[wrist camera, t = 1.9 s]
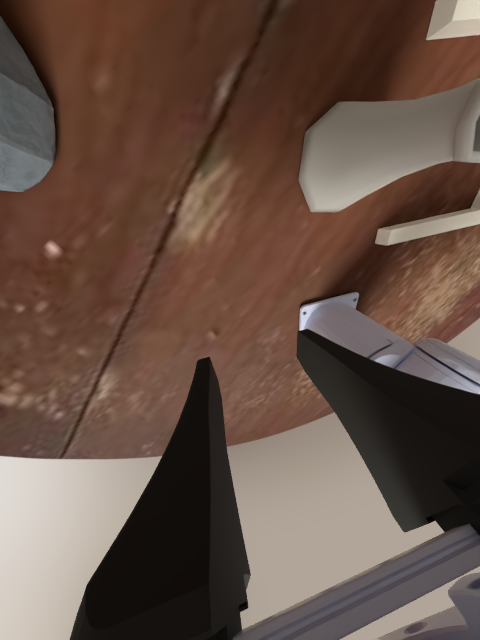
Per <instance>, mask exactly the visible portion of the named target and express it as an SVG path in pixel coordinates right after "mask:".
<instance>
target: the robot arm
mask: <svg viewBox="0 0 480 640" xmlns="http://www.w3.org/2000/svg"><path fill="white" fill-rule="evenodd" d="M358 297H359V293H357V292H352V293H348V294H344V295H341V296H337V297H333V298H329V299H325V300H321V301H317V302H314V303H310V304H306V305H303V306H301V308H300V320H299V331H298V338H297V358H298V360H299V362H300V363H301V365H302V367H303V369H304V370H305V372H306V373H307V375H308V376H309V377H310V379H311V380H312V382H313V383H314V384H315V386H316V387H317V388H318V390H319V391H320V392H321V394H322V395H323V396H324V398H325V399H326V400H327V402H328V403H329V404H330V406H331V407H332V409H333V410H334V412H335V413H336V414H337V416H338V418H339V419H340V421H341V423H342V424H343V426H344V427H345V429H346V431H347V432H348V434H349V436H350V438H351V439H352V441H353V443H354V444H355V446H356V448H357V449H358V451H359V453H360V455H361V456H362V458H363V460H364V462H365V464H366V465H367V467H368V469H369V471H370V473H371V474H372V476H373V478H374V480H375V482H376V484H377V486H378V488H379V489H380V491H381V493H382V495H383V497H384V499H385V501H386V503H387V505H388V507H389V509H390V511H391V513H392V515H393V517H394V518H395V520H396V521H397V522H398V524H399V526H400V527H401V529H402V530H403V531H404V532H408V531H410V530H413V529H416V528H418V527H421V526H423V525H426V524H429V523H431V522H433V521H436V522H437V523H438V524H439V526H440V527H441V528H442V529H443V531H444V532H445V533H443V534H441V535H439V536H437V537H434V538H432V539H430V540H428V541H426V542H424V543H422V544H420V545H418V546H416V547H414V548H412V549H410V550H408V551H405V552H403V553H401V554H399V555H397V556H395V557H393V558H391V559H389V560H387V561H385V562H382V563H381V564H378V565H376V566H375V567H372V568H370V569H368V570H366V571H364V572H362V573H360V574H358V575H356V576H353V577H352V578H349V579H347V580H345V581H343V582H341V583H339V584H337V585H335V586H333V587H331V588H329V589H326V590H324V591H322V592H320V593H318V594H316V595H314V596H312V597H310V598H308V599H306V600H304V601H302V602H299V603H297V604H295V605H294V606H291V607H289V608H287V609H285V610H283V611H281V612H279V613H277V614H275V615H273V616H271V617H269V618H267V619H264V620H262V621H260V622H258V623H256V624H254V625H252V626H250V627H248V628H246V629H243V630H242V627H241V618H240V612H241V611H243V610H245V609H247V608H248V601H247V594H246V588H247V586H248V582H249V579H250V569H249V564H248V559H247V554H246V549H245V544H244V539H243V534H242V529H241V524H240V519H239V513H238V508H237V503H236V498H235V492H234V487H233V482H232V476H231V471H230V465H229V459H228V454H227V447H226V438H225V427H224V417H223V407H222V398H221V393H220V388H219V383H218V379H217V376H216V373H215V371H214V368H213V365H212V362H211V359H210V357H207V358H203V359H200V360H198V361H197V365H196V369H195V374H194V377H193V381H192V385H191V388H190V391H189V394H188V397H187V400H186V403H185V405H184V408H183V411H182V413H181V416H180V419H179V421H178V423H177V426H176V428H175V430H174V433H173V435H172V437H171V439H170V442H169V444H168V446H167V448H166V450H165V452H164V454H163V456H162V458H161V460H160V462H159V464H158V466H157V468H156V470H155V472H154V474H153V476H152V477H151V479H150V481H149V483H148V484H147V486H146V488H145V490H144V492H143V493H142V495H141V497H140V499H139V500H138V502H137V504H136V506H135V507H134V509H133V511H132V513H131V514H130V516H129V518H128V519H127V521H126V523H125V525H124V526H123V528H122V529H121V531H120V533H119V534H118V536H117V538H116V539H115V541H114V542H113V544H112V545H111V547H110V549H109V550H108V552H107V554H106V555H105V557H104V558H103V560H102V562H101V563H100V565H99V566H98V568H97V570H96V571H95V573H94V574H93V576H92V577H91V579H90V581H89V582H88V584H87V586H86V589H85V593H84V596H83V599H82V602H81V605H80V607H79V610H78V613H77V616H76V620H75V623H74V626H73V630H72V634H71V637H70V640H339V639H341V638H343V637H345V636H347V635H349V634H351V633H353V632H354V631H356V630H358V629H360V628H362V627H364V626H366V625H368V624H370V623H371V622H374V621H376V620H378V619H379V618H381V617H383V616H385V615H387V614H389V613H391V612H393V611H395V610H396V609H399V608H400V607H402V606H404V605H406V604H408V603H410V602H412V601H414V600H416V599H418V598H420V597H421V596H423V595H425V594H427V593H429V592H431V591H433V590H435V589H437V588H439V587H441V586H442V585H444V584H446V583H448V582H450V581H452V580H454V579H456V578H458V577H460V576H461V575H464V574H465V573H467V572H469V571H471V570H473V569H475V568H477V567H479V566H480V361H479V360H477V359H475V358H474V357H472V356H470V355H468V354H466V353H464V352H462V351H460V350H458V349H456V348H454V347H452V346H450V345H448V344H446V343H444V342H442V341H440V340H437V339H435V338H427V339H423V338H420V339H418V340H417V341H416V342H415V344H414V343H412V342H409V341H407V340H405V339H404V338H402V337H400V336H399V335H397V334H395V333H394V332H392V331H390V330H389V329H387V328H385V327H384V326H382V325H381V324H379V323H377V322H376V321H374V320H372V319H371V318H369V317H367V316H366V315H364V314H362V313H361V312H359V311H357V310H356V305H357V301H358ZM303 312H305V313H303ZM448 594H449V597H450V598H451V599H452V601H453V603H454V604H455V606H454V607H452V608H449V609H447V610H444V611H442V612H439V613H437V614H435V615H432V616H430V617H427V618H424V619H422V620H420V621H417V622H415V623H412V624H410V625H407V626H405V627H403V628H400V629H398V630H395V631H393V632H391V633H388V634H386V635H384V636H382V637H380V638H378V639H376V640H480V573H474V574H470V575H467V576H464V577H462V578H460V579H459V580H458V581H457V582H456V583H455V584H454V585H453V586H452V587H451V588H450V589H449V590H448Z"/></svg>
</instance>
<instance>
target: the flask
mask: <svg viewBox="0 0 480 640" xmlns="http://www.w3.org/2000/svg"><path fill="white" fill-rule="evenodd" d="M449 161H459V162H471V163H480V78H478V79H475V80H473V81H471V82H469V83H467V84H464V85H462V86H460V87H458V88H455V89H452V90H448V91H444V92H441V93H437V94H433V95H430V96H426V97H423V98H419V99H415V100H398V101H380V102H352V101H346V102H337V103H336V104H335V105H334V106H333V107H332V108H331V109H330V110H329V111H328V112H327V113H325V114H324V115H323V116H322V117H321V118H320V119H319V120H318V121H317V122H316V123H315V124H313V125H312V126H311V127H310V128H309V129H308V130H307V131H306V132H305V136H304V144H303V151H302V158H301V165H300V172H299V179H298V180H299V183H300V186H301V188H302V191H303V193H304V196H305V199H306V201H307V204H308V206H309V209H310V211H311V212H339V211H341V210H342V209H344V208H346V207H348V206H349V205H351V204H353V203H355V202H356V201H358V200H360V199H362V198H363V197H365V196H367V195H369V194H370V193H372V192H374V191H376V190H378V189H380V188H382V187H384V186H386V185H387V184H389V183H391V182H393V181H395V180H397V179H399V178H401V177H403V176H405V175H408V174H411V173H414V172H416V171H419V170H422V169H425V168H427V167H430V166H433V165H435V164H439V163H444V162H449Z"/></svg>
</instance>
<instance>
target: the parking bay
mask: <svg viewBox="0 0 480 640" xmlns="http://www.w3.org/2000/svg"><path fill="white" fill-rule="evenodd" d="M473 35H480V0H437V1H436V2H435V5H434V9H433V13H432V17H431V21H430V25H429V29H428V33H427V37H426V40H433V39H443V38H453V37H463V36H473ZM477 224H480V189H479V191H478V194H477V196H476V198H475V200H474V202H473V204H472V206H471V208H470V209H465V210H461V211H456V212H452V213H447V214H443V215H438V216H434V217H429V218H425V219H420V220H416V221H411V222H407V223H402V224H398V225H393V226H389V227H384V228H380V229H378V232H377V236H376V240H375V244H380V245H386V246H388V245H392V244H396V243H400V242H405V241H409V240H413V239H417V238H422V237H426V236H430V235H434V234H439V233H443V232H447V231H451V230H456V229H460V228H464V227H468V226H473V225H477Z"/></svg>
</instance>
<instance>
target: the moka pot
mask: <svg viewBox="0 0 480 640" xmlns="http://www.w3.org/2000/svg"><path fill="white" fill-rule="evenodd" d="M55 151H56V146H55V125H54V109H53V106H52V103H51V101H50V99H49V97H48V95H47V93H46V90H45V88H44V86H43V84H42V82H41V81H40V79H39V77H38V76H37V74H36V71H35V69H34V67H33V66H32V64H31V62H30V61H29V59H28V57H27V56H26V54H25V52H24V50H23V49H22V47H21V46H20V44H19V43H18V41H17V40H16V38H15V37H14V35H13V34H12V32H11V31H10V29H9V28H8V26H7V25H6V23H5V22H4V20H3V19H2V18H1V16H0V190H1V191H12V192H23V191H25V190H27V189H29V188H31V187H32V186H34V185H36V184H38V183H39V182H40V181H41V180H42V179H43V178H44V176H45V175H46V174H47V172H48V171H49V170H50V168H51V166H52V165H53V160H54V157H55Z"/></svg>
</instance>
